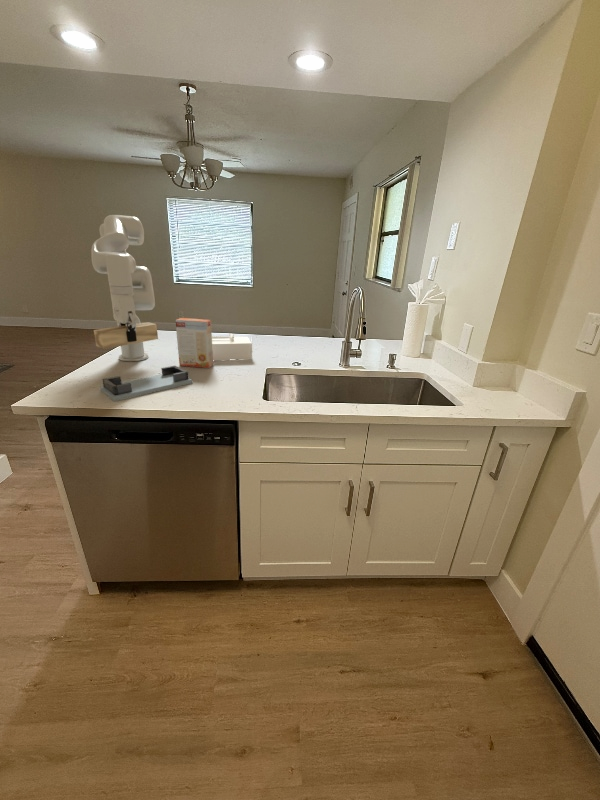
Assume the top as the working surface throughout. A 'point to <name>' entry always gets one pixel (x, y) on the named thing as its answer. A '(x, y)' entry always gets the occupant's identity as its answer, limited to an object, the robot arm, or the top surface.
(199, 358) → the cracker box
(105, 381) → the rail base
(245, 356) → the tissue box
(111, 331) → the slat
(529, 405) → the top surface
